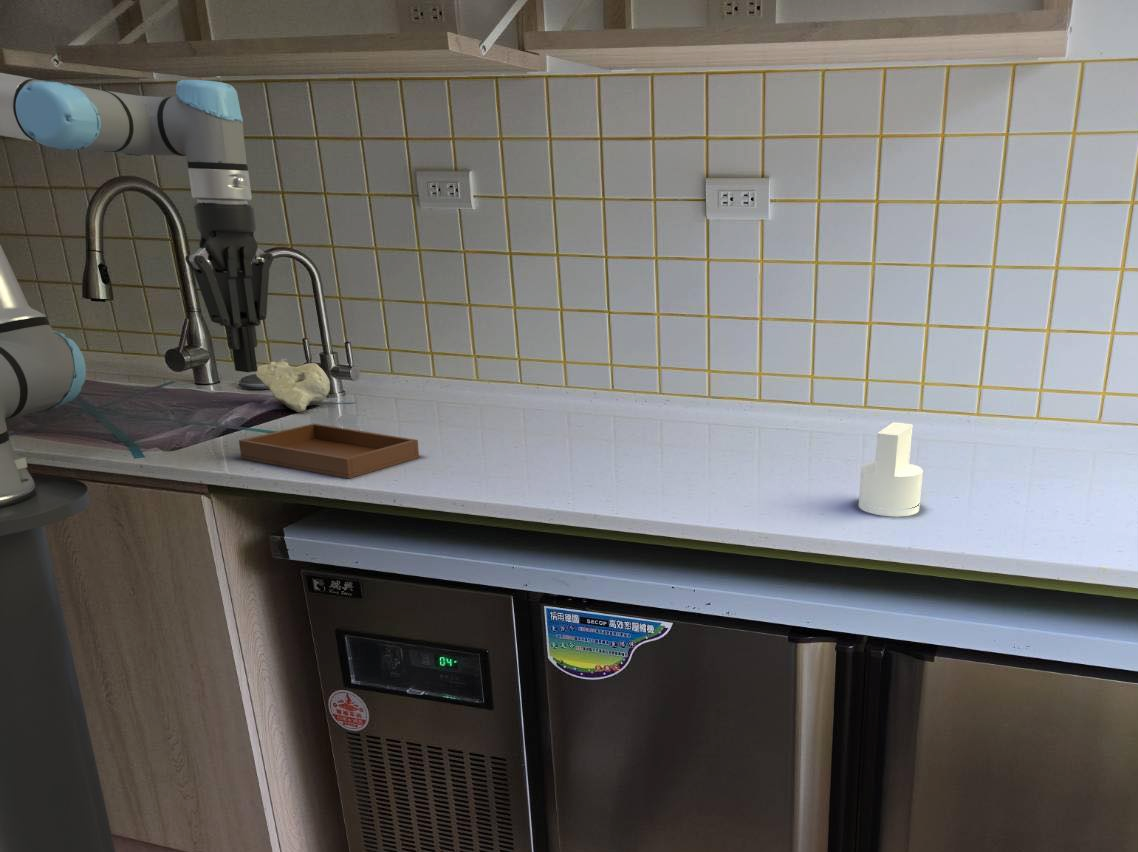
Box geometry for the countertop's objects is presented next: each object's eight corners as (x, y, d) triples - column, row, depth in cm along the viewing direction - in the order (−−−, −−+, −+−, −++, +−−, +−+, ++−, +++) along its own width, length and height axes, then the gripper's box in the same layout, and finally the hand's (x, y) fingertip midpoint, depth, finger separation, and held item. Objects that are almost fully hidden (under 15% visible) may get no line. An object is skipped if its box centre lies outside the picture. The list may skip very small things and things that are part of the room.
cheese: (340, 420, 199) (341, 365, 206) (319, 399, 192) (321, 342, 200) (270, 441, 200) (274, 385, 208) (248, 420, 194) (252, 363, 201)
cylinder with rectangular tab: (910, 519, 141) (918, 438, 137) (850, 510, 144) (856, 430, 140) (925, 504, 148) (933, 426, 144) (868, 495, 152) (874, 419, 148)
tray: (349, 478, 152) (346, 459, 151) (241, 458, 161) (238, 440, 160) (419, 457, 165) (417, 439, 164) (316, 440, 174) (314, 423, 173)
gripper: (199, 202, 130) (225, 379, 138) (281, 204, 142) (300, 367, 150) (161, 201, 133) (189, 374, 141) (244, 202, 145) (265, 363, 153)
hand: (246, 370), depth 145 cm, fingers closed
